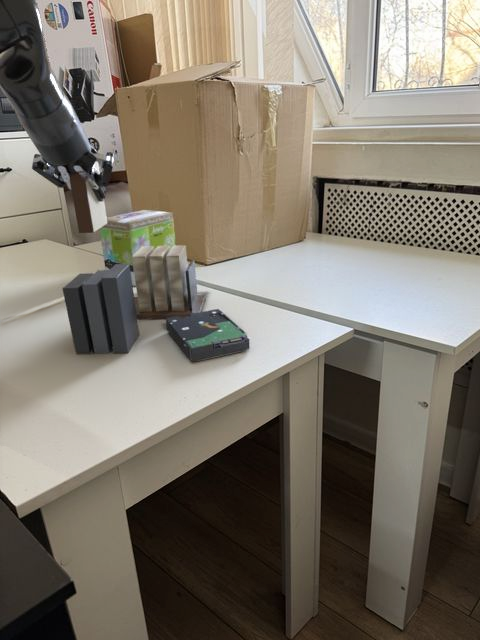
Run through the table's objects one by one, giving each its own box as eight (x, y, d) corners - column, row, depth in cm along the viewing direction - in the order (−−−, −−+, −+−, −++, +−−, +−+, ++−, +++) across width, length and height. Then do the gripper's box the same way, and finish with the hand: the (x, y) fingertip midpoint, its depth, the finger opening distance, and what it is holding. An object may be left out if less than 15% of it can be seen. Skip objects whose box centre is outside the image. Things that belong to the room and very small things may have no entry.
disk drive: (166, 332, 92) (191, 363, 80) (164, 318, 91) (190, 347, 79) (219, 321, 96) (251, 350, 84) (218, 307, 95) (250, 334, 82)
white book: (93, 232, 86) (82, 164, 82) (78, 233, 86) (66, 164, 82) (107, 223, 94) (98, 159, 89) (94, 223, 94) (84, 160, 89)
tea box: (136, 287, 116) (127, 222, 110) (106, 281, 121) (95, 218, 115) (179, 270, 128) (173, 210, 121) (150, 265, 133) (142, 208, 126)
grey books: (128, 353, 84) (116, 277, 79) (75, 354, 84) (60, 278, 79) (139, 334, 91) (129, 263, 86) (91, 335, 92) (78, 264, 86)
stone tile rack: (85, 320, 98) (74, 260, 93) (102, 301, 108) (93, 245, 103) (198, 318, 97) (193, 257, 92) (205, 299, 107) (201, 243, 102)
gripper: (102, 102, 75) (134, 179, 91) (9, 105, 75) (57, 181, 91) (96, 143, 72) (130, 214, 88) (0, 145, 73) (51, 216, 89)
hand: (93, 197), depth 90 cm, fingers closed on white book, 2 cm apart
